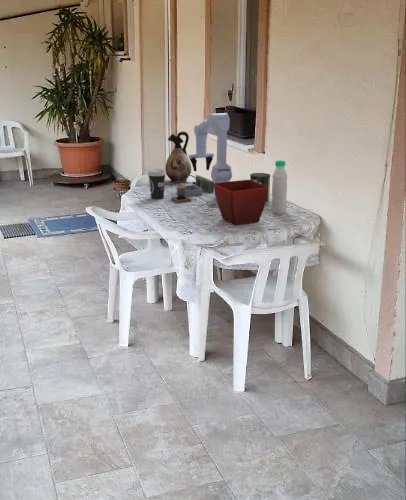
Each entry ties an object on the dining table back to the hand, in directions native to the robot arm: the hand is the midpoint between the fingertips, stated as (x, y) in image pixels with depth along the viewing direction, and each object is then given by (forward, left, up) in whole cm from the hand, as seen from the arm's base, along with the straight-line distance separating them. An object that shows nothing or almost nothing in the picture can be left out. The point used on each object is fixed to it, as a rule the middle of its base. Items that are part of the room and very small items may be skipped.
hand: (201, 170), depth 355 cm
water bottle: (-67, -13, -10) cm, 69 cm away
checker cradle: (-26, +22, -10) cm, 35 cm away
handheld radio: (-1, 0, -11) cm, 11 cm away
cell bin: (-12, +12, -10) cm, 20 cm away
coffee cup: (-15, +31, -10) cm, 36 cm away
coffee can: (-43, -15, -10) cm, 47 cm away
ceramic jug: (+22, +5, -10) cm, 25 cm away
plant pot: (-74, +11, -10) cm, 75 cm away
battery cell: (-26, +22, -10) cm, 35 cm away
